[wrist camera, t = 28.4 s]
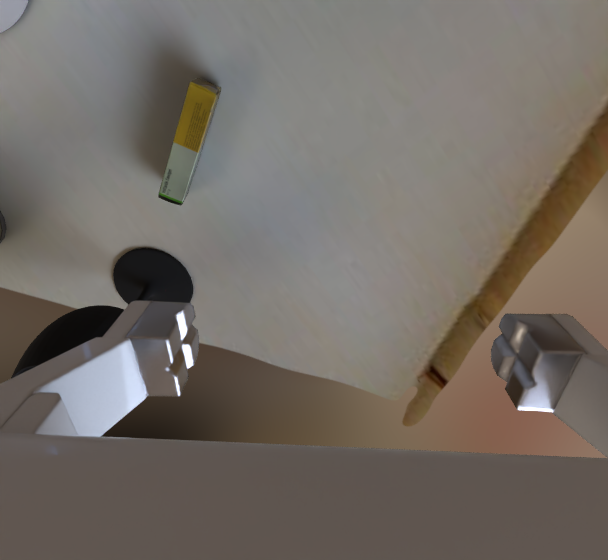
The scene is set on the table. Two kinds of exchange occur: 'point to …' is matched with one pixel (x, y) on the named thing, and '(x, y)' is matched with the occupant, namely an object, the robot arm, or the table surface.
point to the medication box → (189, 140)
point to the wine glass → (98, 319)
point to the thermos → (2, 227)
